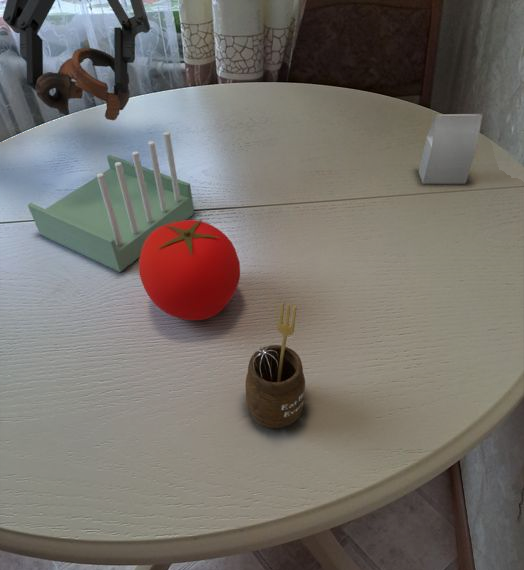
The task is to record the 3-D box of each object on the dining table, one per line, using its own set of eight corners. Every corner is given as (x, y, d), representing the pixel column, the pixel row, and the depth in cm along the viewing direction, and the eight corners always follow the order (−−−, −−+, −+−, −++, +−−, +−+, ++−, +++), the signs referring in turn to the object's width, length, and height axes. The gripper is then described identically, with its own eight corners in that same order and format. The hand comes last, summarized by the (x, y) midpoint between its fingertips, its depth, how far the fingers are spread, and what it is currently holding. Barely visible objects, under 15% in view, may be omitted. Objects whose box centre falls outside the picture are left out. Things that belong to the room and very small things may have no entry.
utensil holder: (237, 419, 51) (229, 342, 42) (262, 374, 55) (259, 294, 46) (291, 439, 50) (294, 363, 41) (312, 391, 53) (320, 312, 44)
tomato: (259, 311, 62) (257, 241, 54) (174, 350, 58) (157, 281, 50) (213, 259, 68) (205, 191, 60) (134, 291, 64) (114, 222, 56)
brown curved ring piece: (93, 92, 73) (109, 40, 67) (131, 140, 72) (150, 92, 66) (15, 96, 65) (25, 37, 59) (56, 151, 64) (71, 97, 58)
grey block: (465, 183, 79) (485, 120, 72) (422, 183, 80) (438, 121, 72) (460, 171, 82) (479, 109, 74) (418, 171, 82) (433, 109, 74)
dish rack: (40, 234, 73) (3, 149, 63) (117, 183, 81) (95, 101, 72) (120, 272, 67) (93, 184, 57) (194, 213, 75) (182, 128, 66)
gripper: (175, -78, 64) (174, 100, 66) (2, -76, 65) (5, 100, 67) (161, -130, 57) (160, 73, 58) (-35, -126, 58) (-30, 73, 59)
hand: (78, 88), depth 63 cm, fingers closed on brown curved ring piece, 10 cm apart
